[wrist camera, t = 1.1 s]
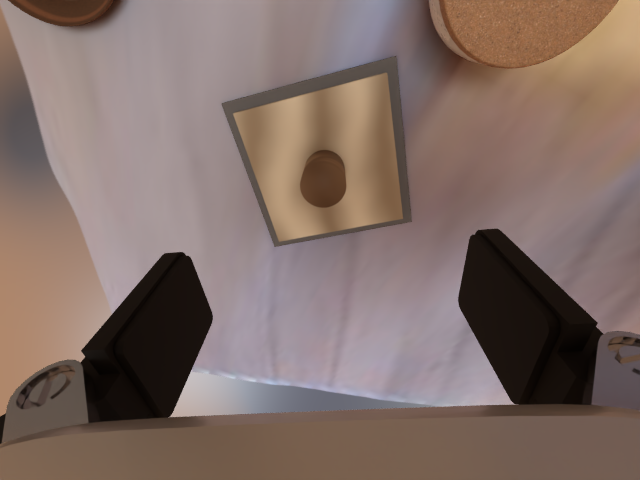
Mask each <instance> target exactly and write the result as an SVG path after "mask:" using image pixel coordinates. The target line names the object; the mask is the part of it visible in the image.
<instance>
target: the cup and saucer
mask: <svg viewBox="0 0 640 480" xmlns="http://www.w3.org/2000/svg"><path fill="white" fill-rule="evenodd" d="M8 1H10V2H11V3H12V4H14V5H15V6H16V7H18V8H19V9H21V10H22V11H24V12H25V13H27V14H29V15H31V16H33V17H35V18H37V19H39V20H41V21H44V22H47V23H50V24H54V25H59V26H78V25H83V24H86V23H89V22H92V21H94V20H95V19H97V18H99V17H100V16H101V15H102V14H104V12H105V11H106V10H107V9H108V8H109V7H110V5H111V4H112V2H113V0H8Z"/></svg>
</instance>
